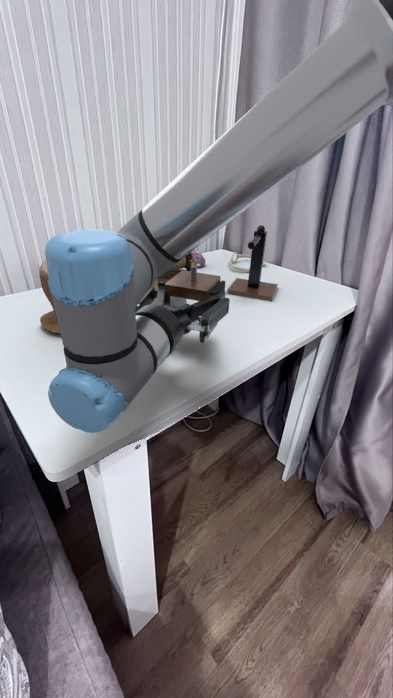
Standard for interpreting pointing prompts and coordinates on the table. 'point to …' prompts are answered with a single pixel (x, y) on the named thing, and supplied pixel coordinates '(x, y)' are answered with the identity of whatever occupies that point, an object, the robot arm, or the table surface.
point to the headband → (236, 260)
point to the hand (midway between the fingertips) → (202, 284)
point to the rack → (255, 272)
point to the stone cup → (49, 318)
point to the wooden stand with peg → (190, 290)
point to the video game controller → (197, 258)
